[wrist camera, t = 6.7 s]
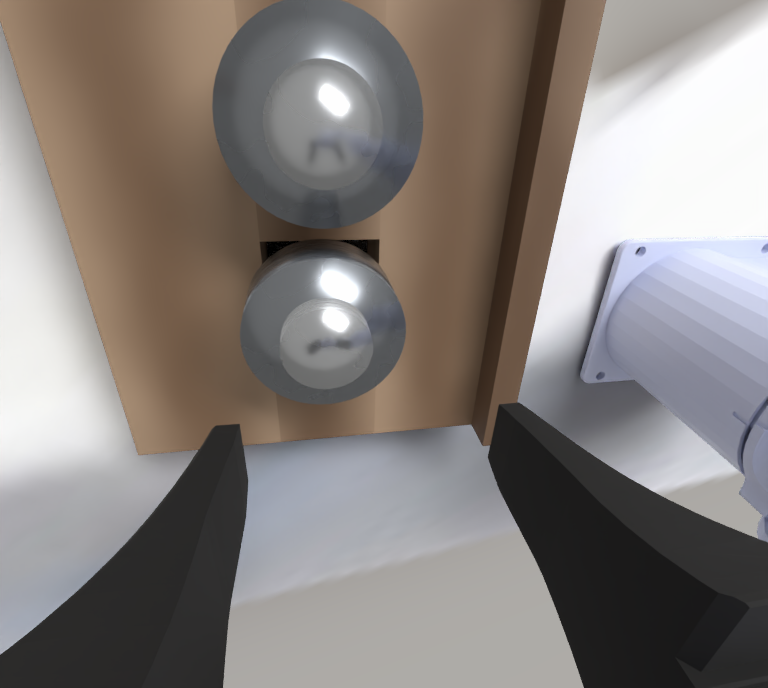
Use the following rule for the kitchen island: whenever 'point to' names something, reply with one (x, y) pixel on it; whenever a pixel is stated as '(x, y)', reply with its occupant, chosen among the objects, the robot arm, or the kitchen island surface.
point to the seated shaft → (317, 112)
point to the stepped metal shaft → (321, 322)
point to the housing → (256, 225)
